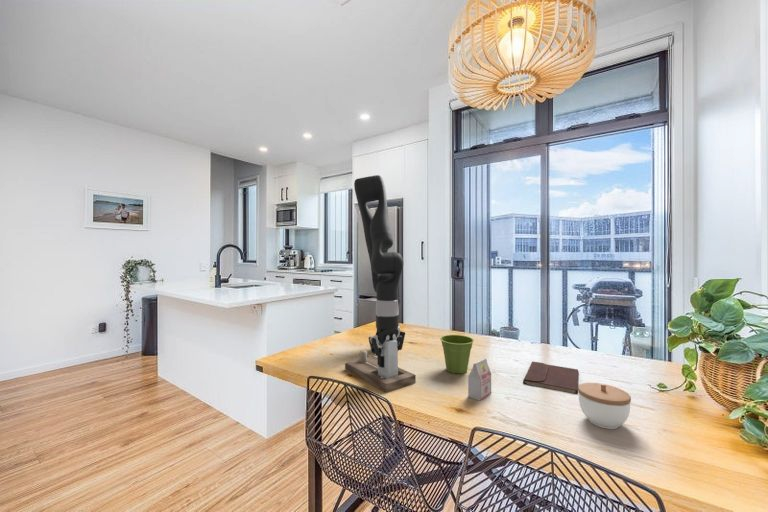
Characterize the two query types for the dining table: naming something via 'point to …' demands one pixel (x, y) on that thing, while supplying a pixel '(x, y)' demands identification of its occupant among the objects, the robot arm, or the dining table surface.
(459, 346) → the plant pot
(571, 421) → the dining table surface
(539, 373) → the notebook
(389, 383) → the brown piece
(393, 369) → the skincare box
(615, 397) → the lidded jar
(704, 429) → the dining table surface
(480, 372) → the milk carton
